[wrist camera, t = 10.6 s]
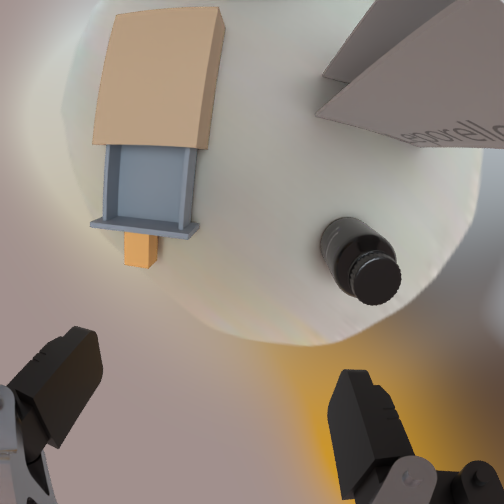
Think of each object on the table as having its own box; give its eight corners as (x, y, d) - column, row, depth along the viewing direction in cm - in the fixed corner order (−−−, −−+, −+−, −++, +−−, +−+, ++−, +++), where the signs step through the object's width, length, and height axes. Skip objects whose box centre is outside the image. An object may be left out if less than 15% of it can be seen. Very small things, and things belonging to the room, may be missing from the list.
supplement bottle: (314, 223, 36) (336, 253, 24) (367, 211, 35) (409, 235, 23) (324, 275, 38) (347, 323, 26) (374, 262, 37) (413, 304, 25)
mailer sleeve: (135, 31, 29) (116, 14, 23) (225, 27, 29) (218, 6, 23) (116, 145, 34) (92, 144, 28) (207, 149, 34) (196, 147, 28)
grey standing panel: (314, 116, 32) (484, -11, 3) (321, 74, 30) (455, -100, 2) (420, 147, 32) (637, 169, 3) (425, 108, 30) (630, 81, 2)
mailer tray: (121, 95, 31) (100, 87, 26) (213, 95, 31) (204, 85, 26) (111, 247, 37) (91, 260, 32) (196, 259, 37) (186, 275, 32)
